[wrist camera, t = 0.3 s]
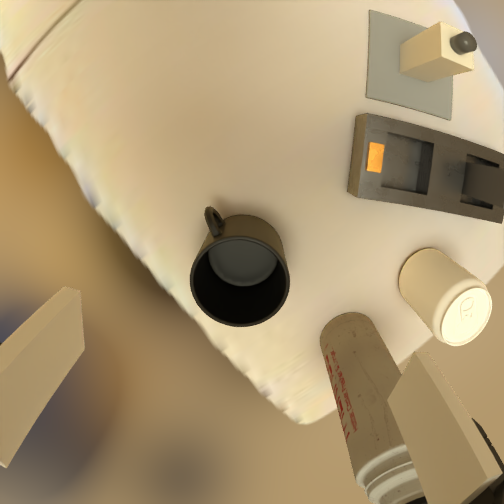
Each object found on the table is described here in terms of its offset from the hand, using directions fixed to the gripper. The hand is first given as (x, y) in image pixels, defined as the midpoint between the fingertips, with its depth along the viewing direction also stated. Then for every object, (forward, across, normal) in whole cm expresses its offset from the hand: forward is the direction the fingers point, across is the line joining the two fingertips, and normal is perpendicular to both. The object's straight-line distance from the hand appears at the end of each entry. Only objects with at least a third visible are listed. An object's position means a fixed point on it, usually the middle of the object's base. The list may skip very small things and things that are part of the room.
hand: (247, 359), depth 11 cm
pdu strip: (+27, +20, +10) cm, 35 cm away
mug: (+27, -1, -4) cm, 27 cm away
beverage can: (+27, +24, -4) cm, 36 cm away
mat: (+27, +15, +22) cm, 38 cm away
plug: (+26, +15, +22) cm, 38 cm away
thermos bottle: (+27, +16, -15) cm, 35 cm away
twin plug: (+26, +26, +11) cm, 38 cm away
